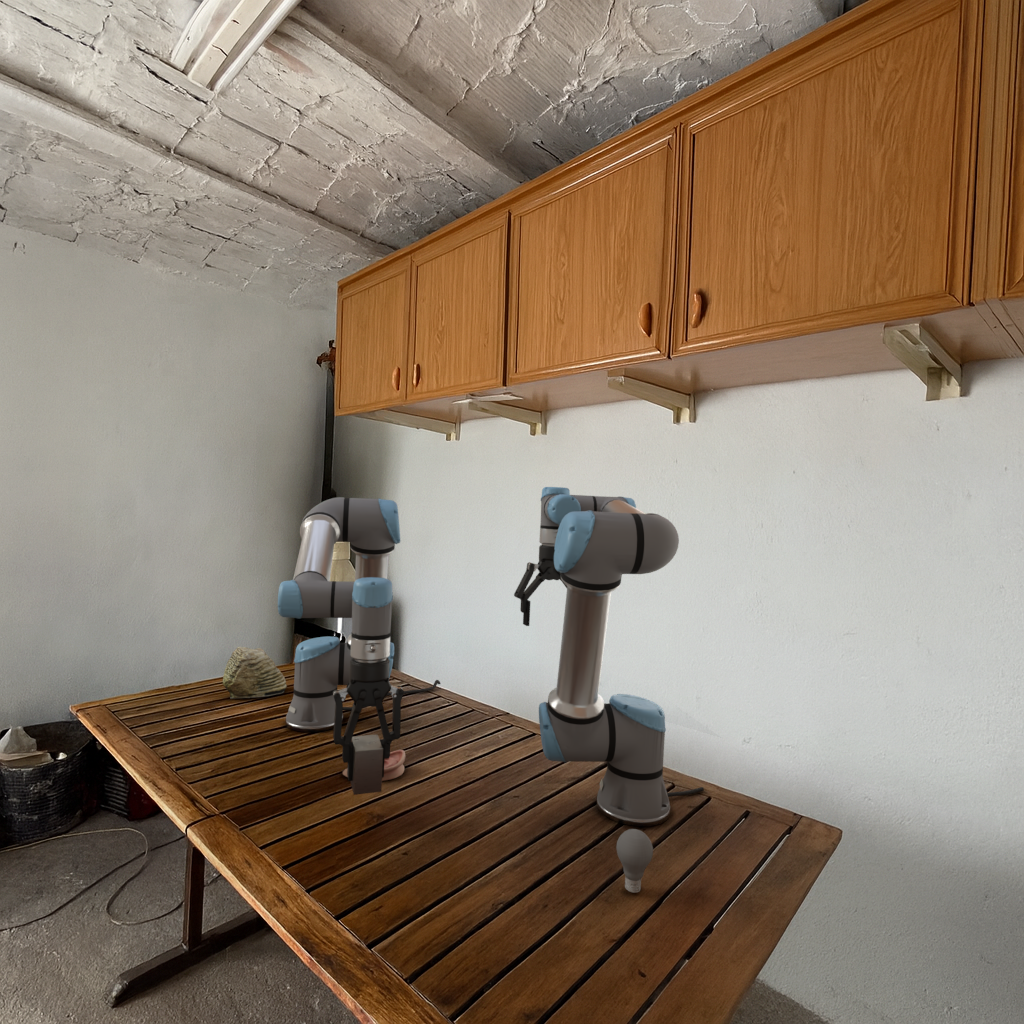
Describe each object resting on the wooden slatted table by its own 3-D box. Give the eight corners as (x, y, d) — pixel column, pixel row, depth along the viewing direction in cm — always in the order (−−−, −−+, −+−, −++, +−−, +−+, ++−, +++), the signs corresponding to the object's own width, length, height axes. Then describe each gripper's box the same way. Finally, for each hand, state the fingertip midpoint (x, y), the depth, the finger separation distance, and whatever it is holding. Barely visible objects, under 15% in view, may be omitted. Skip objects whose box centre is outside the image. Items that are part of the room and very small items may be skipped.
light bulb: (610, 879, 108) (613, 822, 108) (644, 879, 109) (647, 822, 109) (619, 902, 102) (622, 840, 102) (655, 901, 103) (658, 840, 103)
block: (353, 795, 119) (355, 751, 119) (349, 778, 126) (351, 736, 126) (381, 791, 121) (383, 748, 121) (376, 775, 128) (377, 734, 128)
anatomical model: (336, 761, 142) (359, 742, 153) (336, 778, 142) (358, 758, 153) (392, 768, 139) (411, 749, 151) (391, 786, 139) (410, 765, 151)
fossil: (218, 695, 195) (220, 647, 195) (278, 685, 208) (279, 640, 207) (228, 703, 189) (230, 653, 188) (289, 692, 201) (290, 645, 201)
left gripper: (322, 665, 116) (317, 790, 117) (420, 660, 123) (415, 779, 123) (320, 655, 123) (315, 773, 124) (413, 651, 130) (408, 763, 130)
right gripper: (514, 545, 161) (510, 628, 161) (601, 546, 169) (598, 625, 170) (504, 543, 168) (501, 622, 168) (589, 544, 176) (585, 620, 177)
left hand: (365, 775), depth 124 cm, fingers closed on block, 5 cm apart
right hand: (549, 624), depth 169 cm, fingers open, 13 cm apart
